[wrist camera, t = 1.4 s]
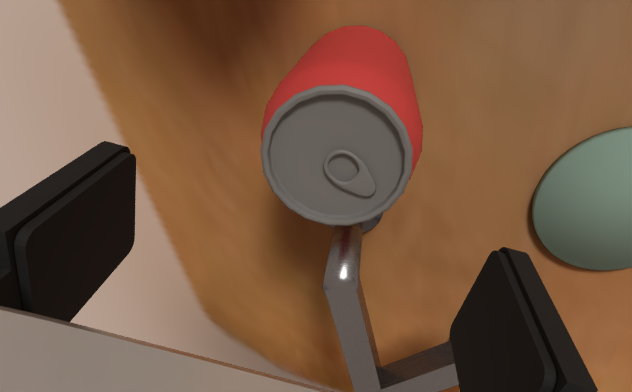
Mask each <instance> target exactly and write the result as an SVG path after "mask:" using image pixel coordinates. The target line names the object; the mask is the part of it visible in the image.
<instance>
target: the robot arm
mask: <svg viewBox="0 0 632 392" xmlns="http://www.w3.org/2000/svg"><path fill="white" fill-rule="evenodd" d="M135 184H136V157H135V155H134V154H130V150H129V148H128V147H125V146H121V145H118V144H114V143H110V142H106V141H104V142H102V143H100V144H98V145H97V146H95V147H93V148H92V149H90V150H89V151H87V152H86V153H84V154H83V155H81V156H80V157H78V158H77V159H75V160H73V161H72V162H70V163H69V164H67V165H66V166H64V167H63V168H61V169H60V170H58V171H57V172H55V173H53V174H52V175H50V176H49V177H47V178H46V179H44V180H43V181H41V182H40V183H38V184H36V185H35V186H33V187H32V188H30V189H29V190H27V191H26V192H24V193H23V194H21V195H20V196H18V197H16V198H15V199H13V200H12V201H10V202H9V203H7V204H6V205H4V206H2V207H1V208H0V392H333V391H329V390H326V389H322V388H318V387H315V386H311V385H307V384H303V383H300V382H295V381H292V380H288V379H285V378H281V377H277V376H273V375H269V374H266V373H262V372H258V371H254V370H251V369H247V368H243V367H239V366H236V365H232V364H228V363H224V362H220V361H217V360H213V359H209V358H205V357H202V356H198V355H194V354H190V353H186V352H182V351H179V350H175V349H171V348H167V347H163V346H159V345H155V344H151V343H148V342H144V341H140V340H136V339H132V338H129V337H124V336H121V335H117V334H113V333H109V332H105V331H102V330H98V329H94V328H90V327H86V326H82V325H78V324H74V323H70V321H71V320H72V319H73V317H74V316H75V315H76V314H77V313H78V312H79V310H80V309H81V308H82V307H83V306H84V305H85V304H86V302H87V301H88V300H89V299H90V298H91V297H92V295H93V294H94V293H95V292H96V291H97V290H98V288H99V287H100V286H101V285H102V284H103V283H104V281H105V280H106V279H107V278H108V277H109V276H110V274H111V273H112V272H113V271H114V270H115V269H116V268H117V266H118V265H119V264H120V263H121V262H122V261H123V259H124V258H125V257H126V256H127V255H128V254H129V252H130V250H131V249H132V247H133V244H134V236H135V231H134V230H135V186H136V185H135ZM450 341H451V346H452V351H453V356H454V362H455V367H456V372H457V377H458V382H459V388H460V392H597V391H598V389H597V387H596V386H595V384H594V382H593V380H592V378H591V376H590V374H589V372H588V370H587V368H586V366H585V364H584V362H583V360H582V358H581V356H580V354H579V352H578V350H577V349H576V347H575V345H574V343H573V341H572V339H571V337H570V335H569V333H568V331H567V329H566V327H565V325H564V323H563V321H562V319H561V317H560V315H559V314H558V312H557V310H556V308H555V306H554V304H553V302H552V300H551V298H550V296H549V294H548V292H547V290H546V288H545V286H544V284H543V282H542V280H541V279H540V277H539V275H538V273H537V271H536V269H535V267H534V265H533V263H532V261H531V259H530V257H529V255H528V254H527V253H524V252H521V251H517V250H513V249H509V248H506V247H503V248H501V249H500V250H499V251H492V252H491V254H490V255H489V257H488V259H487V261H486V262H485V264H484V266H483V268H482V270H481V272H480V273H479V275H478V277H477V279H476V281H475V283H474V284H473V286H472V288H471V290H470V292H469V294H468V295H467V297H466V299H465V301H464V303H463V305H462V307H461V308H460V310H459V312H458V314H457V316H456V318H455V319H454V321H453V323H452V325H451V329H450Z"/></svg>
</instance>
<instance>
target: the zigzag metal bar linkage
mask: <svg viewBox="0 0 632 392" xmlns="http://www.w3.org/2000/svg"><path fill="white" fill-rule="evenodd" d="M382 215H383V213H381V214H380V215H378V216H376V217H375V218H373V219H372V220H369V221H365V222H361V223H357V224H354V225H350V226H343V225H329V226H331V227H332V228H334V229H333V234H332V240H331V245H330V250H329V255H328V261H327V266H326V271H325V276H324V281H323V291H324V293H325V295H326V296H327V299H328V302H329V306H330V309H331V313H332V316H333V320H334V323H335V327H336V330H337V333H338V337H339V340H340V344H341V347H342V351H343V354H344V358H345V361H346V365H347V368H348V371H349V375H350V378H351V382H352V385H353V389H354V392H438V391H441V390H444V389H447V388H450V387H453V386H456V385H459V382H458V377H457V372H456V367H455V362H454V356H453V351H452V346H451V341H448V342H446V343H443V344H441V345H438V346H435V347H433V348H430V349H427V350H425V351H422V352H420V353H417V354H414V355H412V356H409V357H407V358H404V359H401V360H399V361H396V362H393V363H391V364H388V365H386V366H383V367H381V364H380V360H379V356H378V352H377V348H376V344H375V339H374V335H373V331H372V327H371V323H370V319H369V314H368V310H367V306H366V302H365V298H364V294H363V289H362V285H361V281H360V277H359V269H360V257H361V245H362V233H363V232H366V231H368V230H370V229H372V228H373V227H374V226H376V225H377V224H378V222H379V221H380V219H381V218H382Z"/></svg>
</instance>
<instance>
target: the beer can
mask: <svg viewBox="0 0 632 392" xmlns="http://www.w3.org/2000/svg"><path fill="white" fill-rule="evenodd" d="M422 133H423V125H422V121H421V116H420V112H419V107H418V103H417V99H416V94H415V90H414V86H413V81H412V77H411V73H410V69H409V66H408V62H407V59H406V56H405V55H404V53H403V52H402V50H401V49H400V48H399V46H398V45H397V43H396V42H395V41H394V40H392V39H391V38H390V37H388V36H387V35H385V34H384V33H383V32H381V31H379V30H376V29H372V28H369V27H365V26H345V27H341V28H339V29H336V30H334V31H332V32H329V33H327V34H325V35H324V36H323V37H322V38H321V39H320V40H318V41H317V42H316V43H315V44H314V45H313V46H312V47H311V48H310V49H309V50H308V51H307V53H306V54H305V55H304V56H303V57H302V58H301V60H300V61H299V62H298V63H297V64H296V65H295V66H294V68H293V69H292V70H291V71H290V72H289V73H288V75H287V76H286V77H285V78H284V79H283V80H282V81H281V83H280V84H279V85H278V87H277V88H276V90H275V92H274V94H273V95H272V97H271V99H270V100H269V102H268V104H267V106H266V110H265V115H264V120H263V125H262V131H261V139H262V146H261V158H262V166H263V172H264V175H265V177H266V179H267V181H268V183H269V185H270V187H271V189H272V191H273V192H274V193H275V195H276V196H277V197H278V198H279V199H280V200H281V201H282V202H283V203H284V204H285V205H286V207H287V208H289V209H291V210H292V211H294V212H295V213H297V214H299V215H300V216H302V217H304V218H305V219H308V220H311V221H315V222H318V223H321V224H325V225H343V226H350V225H354V224H357V223H361V222H365V221H369V220H372V219H373V218H375V217H376V216H378V215H380V214H381V213H383V212H385V211H386V210H388V209H389V208H390V207H391V206H392V205H393V204H394V203H395V202H396V200H397V199H398V198H399V197H400V196H401V195H402V194H403V192H404V190H405V188H406V185H407V183H408V181H409V180H410V178H411V176H412V173H413V171H414V168H415V166H416V164H417V161H418V159H419V156H420V154H421V151H422Z"/></svg>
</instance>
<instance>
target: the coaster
mask: <svg viewBox="0 0 632 392" xmlns="http://www.w3.org/2000/svg"><path fill="white" fill-rule="evenodd" d="M532 221H533V225H534V228H535V231H536V233H537V234H538V236H539V238H540V240H541V241H542V243H543V244H544V246H545V247H546V248H547V249H548V250H549V251H550V252H551V253H552V254H553V255H554V256H556V257H557V258H559V259H560V260H562V261H564V262H566V263H568V264H571V265H574V266H577V267H581V268H585V269H592V270H619V269H625V268H631V267H632V127H624V128H618V129H613V130H610V131H606V132H603V133H600V134H597V135H595V136H592V137H590V138H588V139H586V140H584V141H582V142H580V143H578V144H577V145H575V146H573V147H572V148H570V149H569V150H568V151H566V152H565V153H564V154H562V155H561V156H560V157H559V158H558V159H557V160H556V161H555V162H554V163H553V164H552V165H551V166H550V167H549V169H548V170H547V171H546V172H545V174H544V175H543V177H542V178H541V180H540V182H539V184H538V186H537V188H536V190H535V193H534V197H533V201H532Z"/></svg>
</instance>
